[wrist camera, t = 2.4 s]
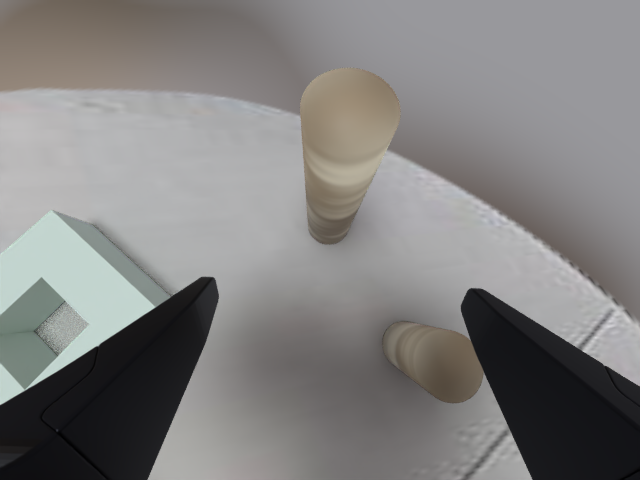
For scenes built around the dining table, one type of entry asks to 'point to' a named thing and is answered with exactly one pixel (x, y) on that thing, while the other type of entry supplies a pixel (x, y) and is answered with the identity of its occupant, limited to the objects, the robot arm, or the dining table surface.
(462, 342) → the short pin
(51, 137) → the dining table surface
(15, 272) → the collar block
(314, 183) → the tall pin
